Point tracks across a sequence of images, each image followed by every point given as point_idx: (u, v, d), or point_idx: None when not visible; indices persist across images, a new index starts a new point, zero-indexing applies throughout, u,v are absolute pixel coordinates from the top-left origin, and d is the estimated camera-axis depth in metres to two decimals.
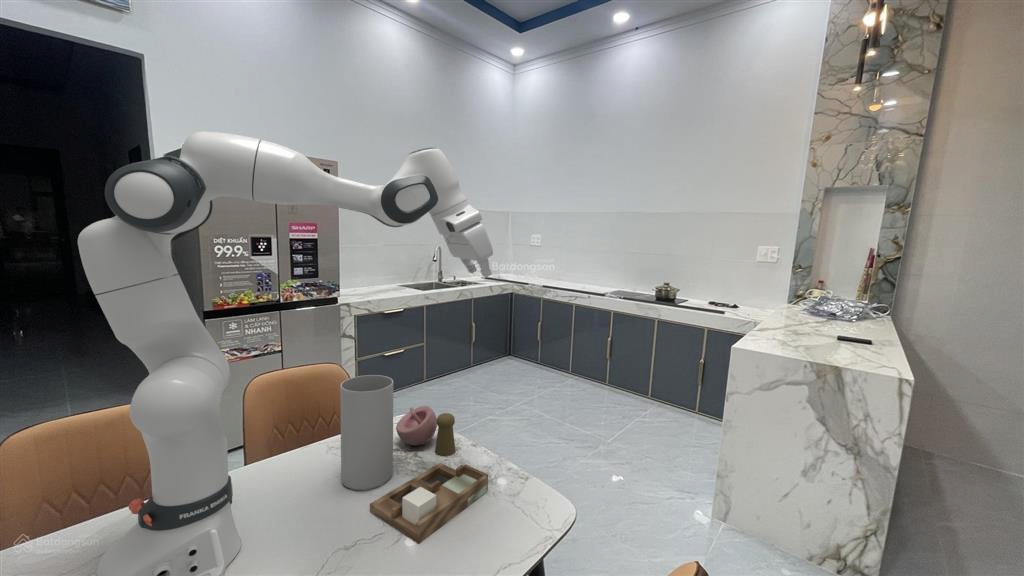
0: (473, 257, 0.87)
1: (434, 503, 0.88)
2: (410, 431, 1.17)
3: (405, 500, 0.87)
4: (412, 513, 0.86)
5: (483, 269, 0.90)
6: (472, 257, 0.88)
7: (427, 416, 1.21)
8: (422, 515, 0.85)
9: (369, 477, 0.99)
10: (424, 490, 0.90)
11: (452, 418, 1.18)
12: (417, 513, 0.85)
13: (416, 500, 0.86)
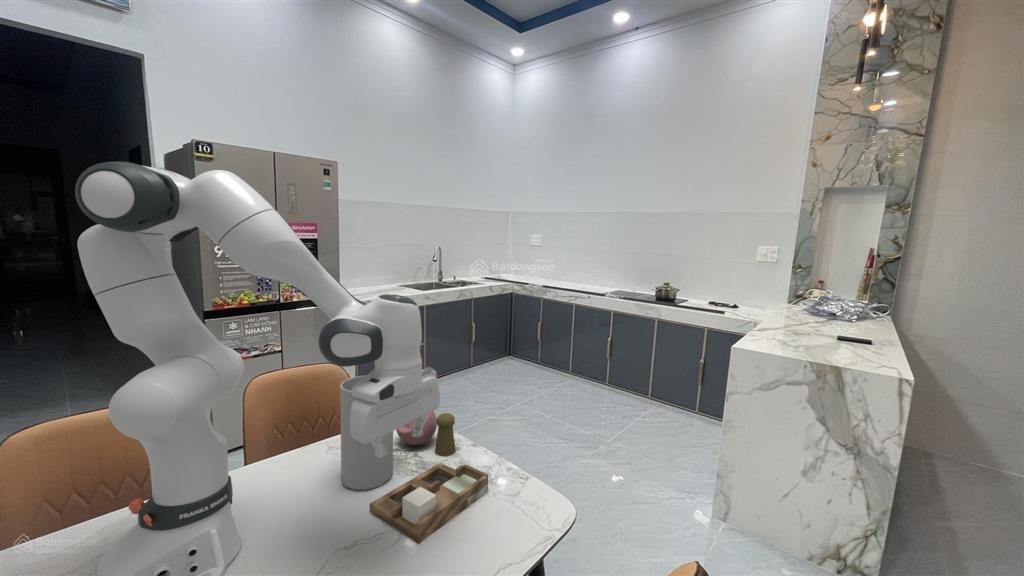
0: None
1: (434, 503, 0.88)
2: (410, 431, 1.17)
3: (405, 500, 0.87)
4: (412, 513, 0.86)
5: (374, 446, 0.76)
6: None
7: (427, 416, 1.21)
8: (422, 515, 0.85)
9: (369, 477, 0.99)
10: (424, 490, 0.90)
11: (452, 418, 1.18)
12: (417, 513, 0.85)
13: (416, 500, 0.86)
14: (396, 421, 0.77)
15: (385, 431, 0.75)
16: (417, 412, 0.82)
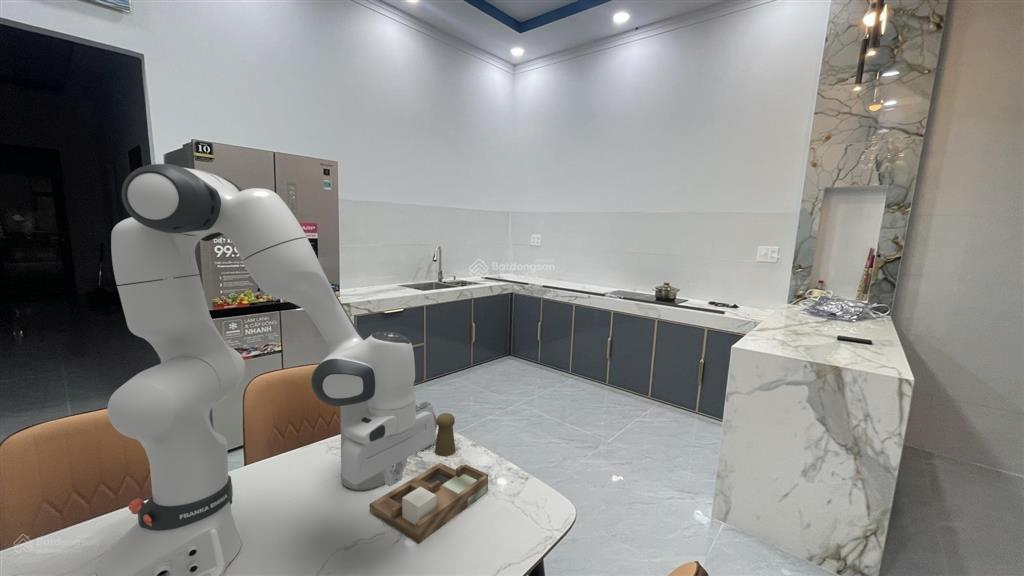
0: None
1: (434, 503, 0.88)
2: None
3: (405, 500, 0.87)
4: (412, 513, 0.86)
5: (384, 475, 0.80)
6: None
7: None
8: (422, 515, 0.85)
9: None
10: (424, 490, 0.90)
11: (452, 418, 1.18)
12: (417, 513, 0.85)
13: (416, 500, 0.86)
14: (389, 460, 0.77)
15: (376, 471, 0.75)
16: (411, 449, 0.82)
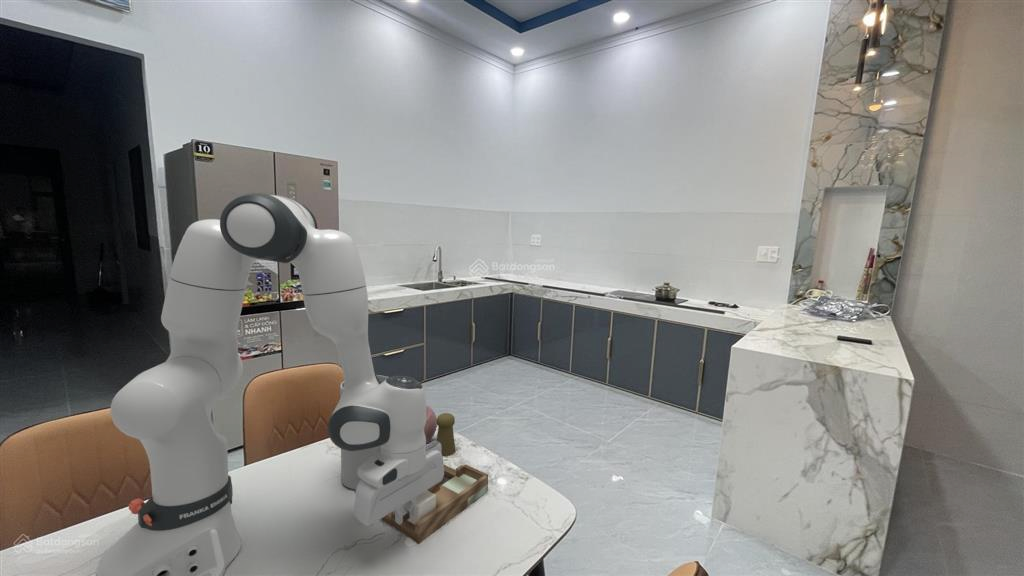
0: None
1: (434, 503, 0.88)
2: None
3: None
4: (412, 513, 0.86)
5: (395, 513, 0.83)
6: None
7: (427, 416, 1.21)
8: (422, 515, 0.85)
9: None
10: None
11: (452, 418, 1.18)
12: (417, 513, 0.85)
13: (416, 500, 0.86)
14: (399, 500, 0.80)
15: (388, 511, 0.78)
16: (420, 488, 0.85)
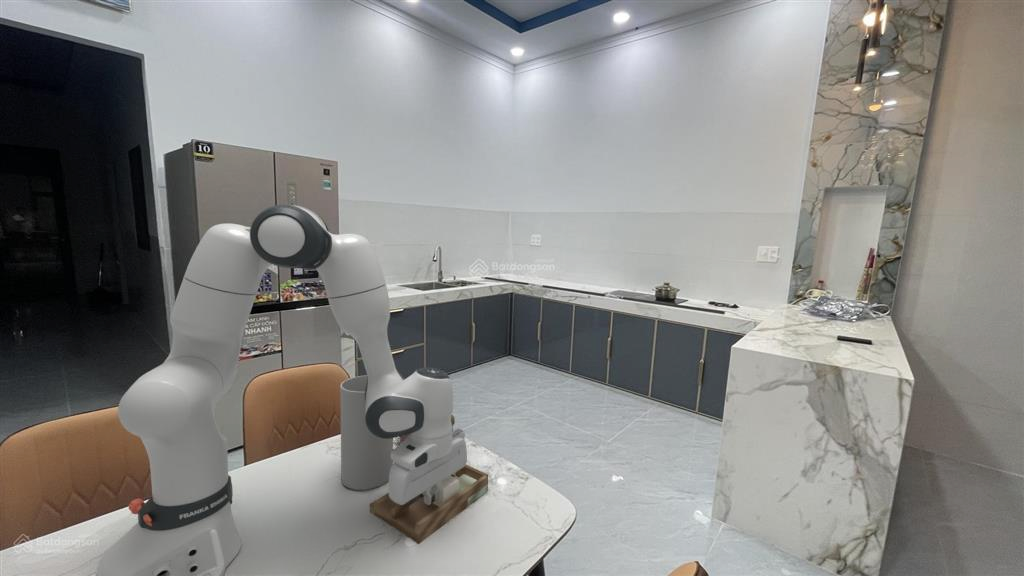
0: None
1: (457, 487, 0.94)
2: None
3: None
4: (437, 496, 0.92)
5: (424, 495, 0.89)
6: None
7: None
8: (447, 498, 0.91)
9: (369, 477, 0.99)
10: None
11: (452, 418, 1.18)
12: (442, 496, 0.91)
13: (441, 484, 0.92)
14: (428, 482, 0.87)
15: (418, 492, 0.85)
16: (446, 472, 0.91)
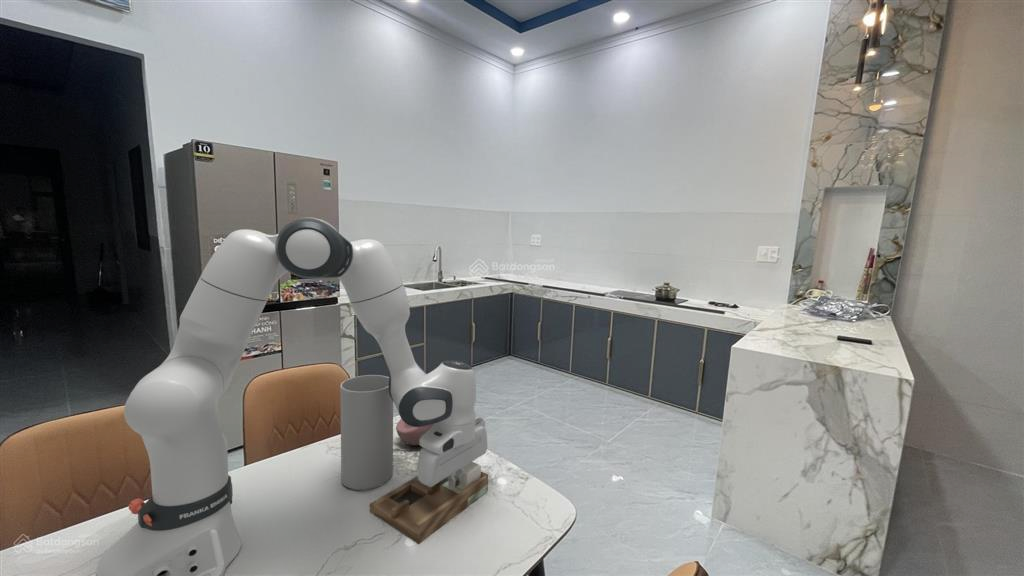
0: None
1: (479, 472, 1.00)
2: (410, 431, 1.17)
3: None
4: (461, 480, 0.98)
5: (448, 479, 0.96)
6: None
7: None
8: (470, 482, 0.98)
9: (369, 477, 0.99)
10: None
11: None
12: (466, 480, 0.97)
13: None
14: (453, 467, 0.93)
15: (445, 476, 0.91)
16: (469, 458, 0.97)
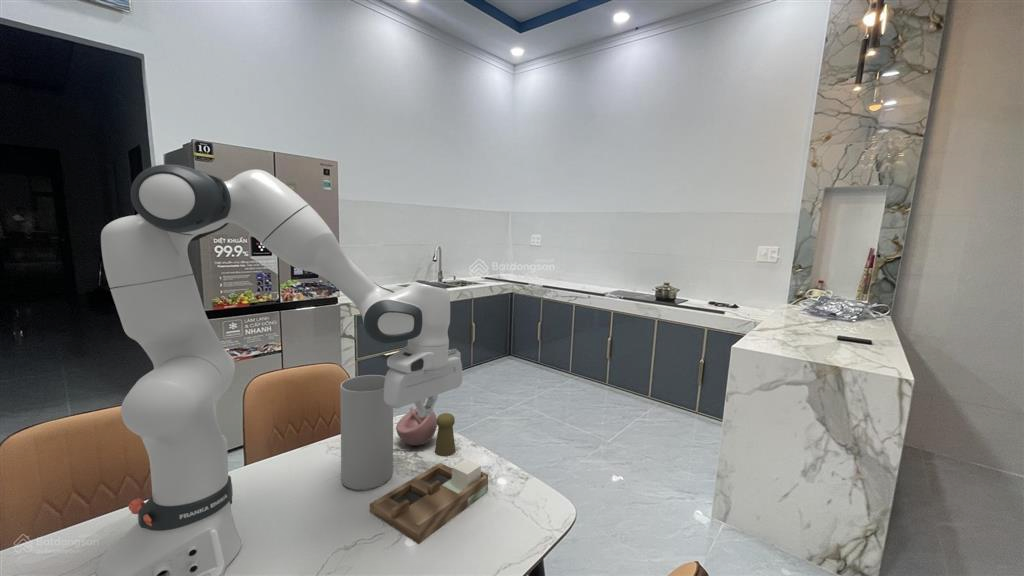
0: None
1: (479, 472, 1.00)
2: (410, 431, 1.17)
3: (454, 469, 0.99)
4: (461, 480, 0.98)
5: (417, 408, 0.90)
6: None
7: (427, 416, 1.21)
8: (470, 482, 0.98)
9: (369, 477, 0.99)
10: (470, 461, 1.02)
11: (452, 418, 1.18)
12: (466, 480, 0.97)
13: (464, 469, 0.99)
14: (423, 392, 0.87)
15: (413, 400, 0.85)
16: (442, 387, 0.92)
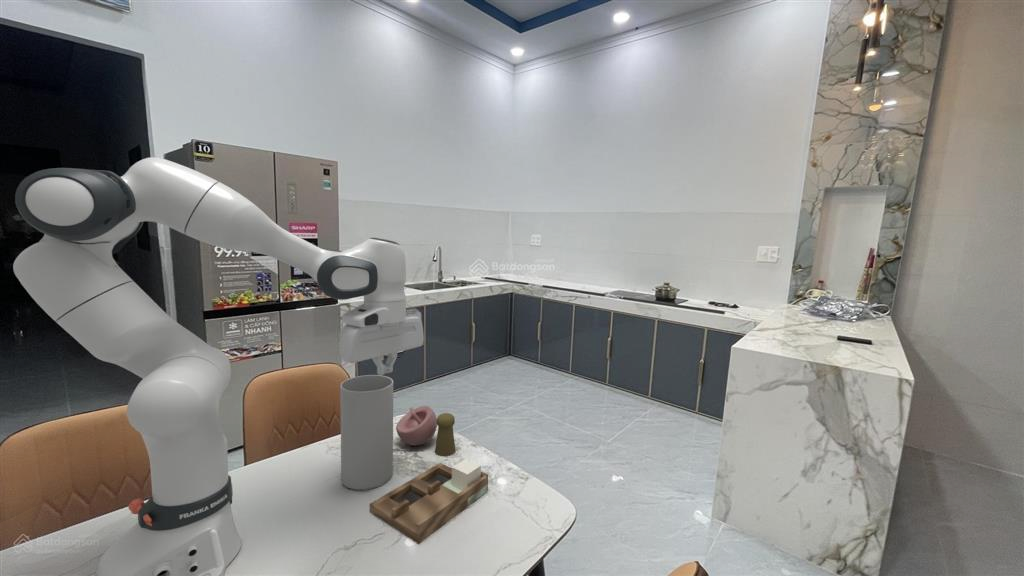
0: None
1: (479, 472, 1.00)
2: (410, 431, 1.17)
3: (454, 469, 0.99)
4: (461, 480, 0.98)
5: (377, 365, 0.90)
6: None
7: (427, 416, 1.21)
8: (470, 482, 0.98)
9: (369, 477, 0.99)
10: (470, 461, 1.02)
11: (452, 418, 1.18)
12: (466, 480, 0.97)
13: (464, 469, 0.99)
14: (381, 349, 0.88)
15: (370, 355, 0.86)
16: (401, 345, 0.92)
